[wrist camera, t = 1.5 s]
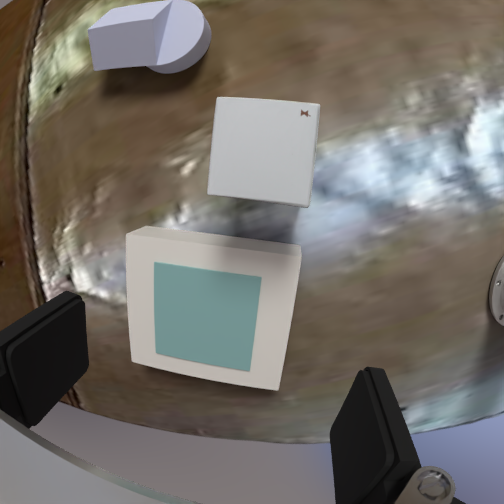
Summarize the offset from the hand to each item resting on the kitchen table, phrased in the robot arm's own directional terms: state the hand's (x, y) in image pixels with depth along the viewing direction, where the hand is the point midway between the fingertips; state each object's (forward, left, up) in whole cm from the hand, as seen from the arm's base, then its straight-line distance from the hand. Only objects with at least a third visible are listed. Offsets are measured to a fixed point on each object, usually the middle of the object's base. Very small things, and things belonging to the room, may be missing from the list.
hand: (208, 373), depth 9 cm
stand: (+5, +9, -26) cm, 28 cm away
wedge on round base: (+15, -22, -26) cm, 37 cm away
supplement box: (0, -8, -26) cm, 27 cm away
